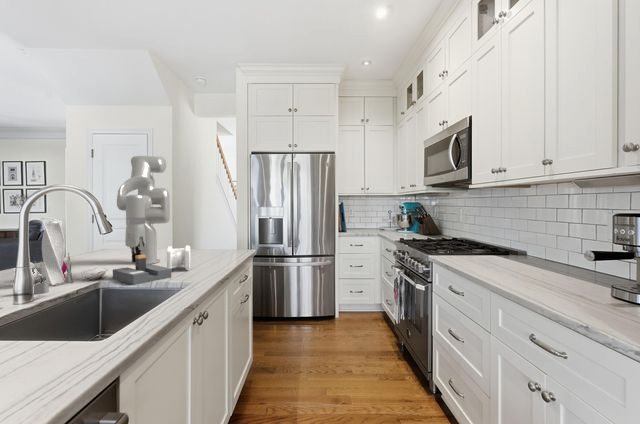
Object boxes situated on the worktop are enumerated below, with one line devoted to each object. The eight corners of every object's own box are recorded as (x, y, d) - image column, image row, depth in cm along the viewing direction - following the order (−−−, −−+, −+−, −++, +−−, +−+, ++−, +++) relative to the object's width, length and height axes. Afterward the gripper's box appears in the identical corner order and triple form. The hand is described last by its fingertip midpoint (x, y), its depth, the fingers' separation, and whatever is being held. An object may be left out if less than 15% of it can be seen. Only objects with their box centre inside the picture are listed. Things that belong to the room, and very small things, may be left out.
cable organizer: (168, 267, 166) (168, 245, 165) (190, 266, 170) (190, 244, 169) (167, 273, 152) (166, 249, 152) (190, 271, 156) (190, 247, 156)
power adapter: (32, 292, 119) (31, 260, 119) (49, 291, 121) (48, 259, 121) (27, 294, 116) (26, 262, 116) (45, 293, 118) (44, 261, 118)
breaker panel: (112, 278, 142) (112, 269, 141) (149, 272, 155) (149, 263, 154) (133, 284, 130) (133, 274, 130) (171, 277, 143) (171, 268, 143)
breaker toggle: (135, 272, 142) (135, 255, 142) (143, 271, 145) (142, 254, 145) (138, 273, 141) (138, 256, 140) (146, 272, 143) (145, 255, 143)
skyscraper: (51, 287, 127) (50, 217, 126) (37, 285, 129) (35, 217, 129) (73, 282, 135) (71, 216, 135) (58, 281, 137) (57, 216, 137)
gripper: (119, 221, 146) (120, 261, 146) (134, 222, 137) (135, 264, 137) (136, 221, 152) (137, 259, 152) (152, 221, 143) (152, 262, 143)
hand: (136, 261), depth 145 cm, fingers closed
